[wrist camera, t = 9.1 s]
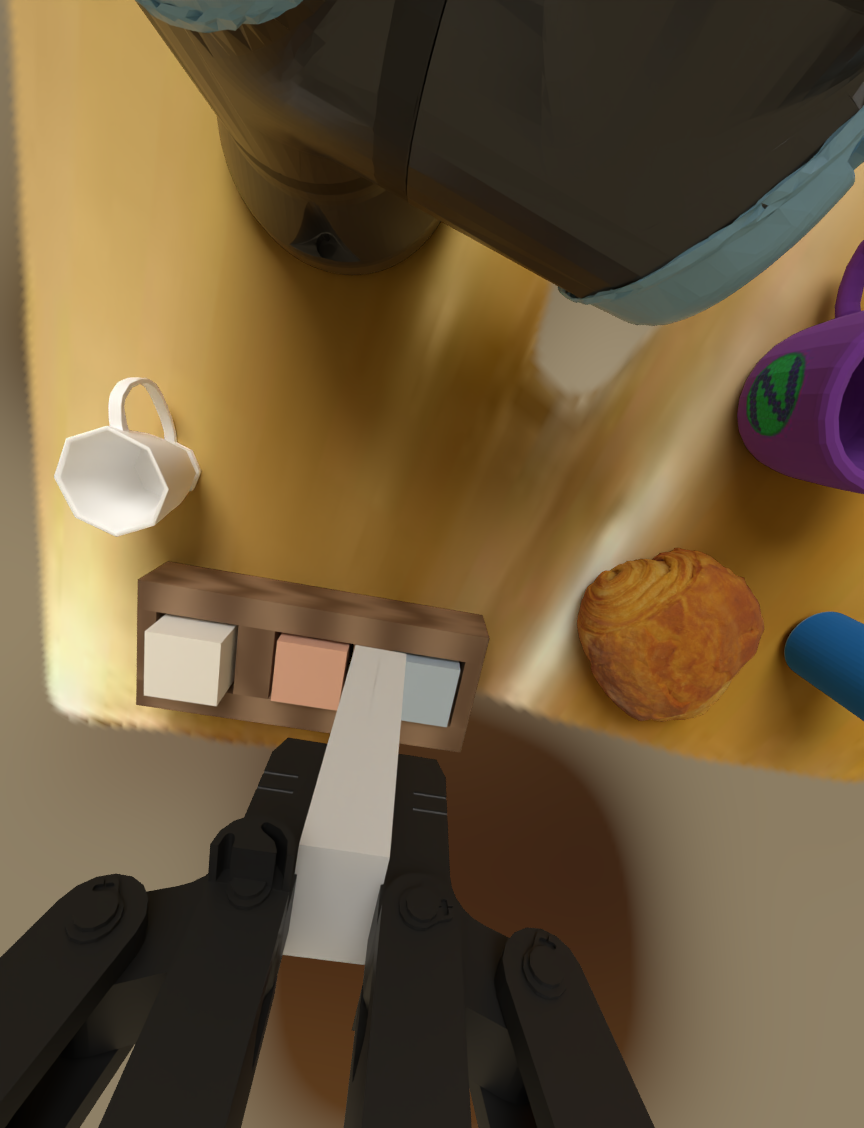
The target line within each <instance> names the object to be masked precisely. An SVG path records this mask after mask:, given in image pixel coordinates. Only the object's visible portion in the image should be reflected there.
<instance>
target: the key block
mask: <svg viewBox="0 0 864 1128" xmlns="http://www.w3.org/2000/svg"><path fill="white" fill-rule="evenodd" d="M165 614H172V615H178V616H185V617H191V618H197V619H203V620H209V621H215V622H222V623H228V624H234V625H239V627H238V639H237V652H236V664H235V677H234V682H233V683H232V685H231V686H230V687H229V689H228V690H227V692H226V693H225V695H224V696H223V698H222V699H221V701H220V702H219V704H218V705H217V706H211V705H205V704H198V703H191V702H185V701H178V700H171V699H164V698H158V697H151V696H144V647H145V631H146V630H147V629H148V628H149V627H151V626H152V625H153V624H154V623H156V622H157V621H158V620H159V619H160V618H162V617H163V616H164V615H165ZM282 632H283V633H289V634H295V635H301V636H308V637H314V638H320V639H326V640H332V641H338V642H344V643H351V644H354V649H355V646H356V645H359V646H365V647H370V648H376V649H382V650H388V651H389V650H394V651H400V652H406V653H412V654H418V655H424V656H431V657H437V658H443V659H449V660H455V661H459V664H460V674H459V678H458V683H457V687H456V691H455V695H454V699H453V703H452V708H451V712H450V716H449V720H448V724H447V727H441V726H435V725H428V724H421V723H415V722H408V721H401V727H400V739H399V744H406V745H414V746H420V747H426V748H434V749H440V750H447V751H454V752H461V748H462V744H463V740H464V736H465V733H466V728H467V725H468V721H469V716H470V713H471V709H472V705H473V701H474V697H475V693H476V689H477V685H478V681H479V677H480V673H481V670H482V666H483V662H484V658H485V654H486V650H487V646H488V642H489V635H488V632H487V629H486V625H485V622H484V619H483V615H478V614H472V613H466V612H461V611H455V610H449V609H443V608H437V607H431V606H426V605H420V604H414V603H408V602H402V601H396V600H390V599H385V598H379V597H373V596H367V595H361V594H355V593H349V592H344V591H338V590H332V589H326V588H320V587H314V586H309V585H303V584H297V583H291V582H285V581H279V580H273V579H268V578H262V577H256V576H250V575H244V574H238V573H233V572H227V571H221V570H215V569H209V568H203V567H197V566H192V565H186V564H180V563H174V562H166V563H164V564H163V565H161V566H159V567H158V568H156V569H154V570H153V571H151V572H149V573H148V574H146V575H145V576H143V577H141V578H140V579H138V606H137V696H136V705H141V706H148V707H155V708H162V709H169V710H175V711H182V712H189V713H196V714H202V715H209V716H216V717H223V718H230V719H236V720H243V721H250V722H257V723H264V724H270V725H277V726H284V727H291V728H298V729H304V730H311V731H318V732H325V733H331V730H332V727H333V723H334V720H335V716H336V713H337V711H335V710H329V709H322V708H315V707H309V706H302V705H296V704H289V703H282V702H276V701H271V694H272V684H273V675H274V666H275V656H276V647H277V640H278V639H279V637H280V635H281V634H282ZM354 649H353V653H354ZM352 656H353V655H352Z"/></svg>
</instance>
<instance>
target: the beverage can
mask: <svg viewBox="0 0 864 1128" xmlns="http://www.w3.org/2000/svg"><path fill="white" fill-rule="evenodd" d="M784 656H785V660H786V663H787V664H788V666H789V667H790V668H791V670H793V671H794V672H795V673H797V674H798V675H799V676H801V677H802V678H804V679H805V680H806V681H808V682H809V683H811V684H812V685H814V686H815V687H816V688H818V689H819V690H821V691H822V692H823V693H825V694H826V695H828V696H829V697H830V698H832V699H833V700H835V701H836V702H838V703H839V704H840V705H842V706H843V707H845V708H846V709H847V710H849V711H850V712H852V713H853V714H855V715H856V716H857V717H859V718H860V719H862V720H863V721H864V624H862V623H860V622H858V621H856V620H854V619H852V618H850V617H848V616H846V615H844V614H841V613H837V612H822V613H818V614H815V615H812V616H810V617H808V618H807V619H805V620H803V621H802V622H801V623H799V624H798V625H797V626H796V627H795V628H794V629H793V631H792V632H791V633H790V635H789V637H788V639H787V641H786V644H785V649H784Z"/></svg>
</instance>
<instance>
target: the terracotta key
mask: <svg viewBox="0 0 864 1128" xmlns="http://www.w3.org/2000/svg"><path fill="white" fill-rule="evenodd" d="M351 647H352V644H351V643H344V642H338V641H332V640H326V639H320V638H314V637H308V636H301V635H295V634H289V633H283V632H282V634H281V635H280V637H279V639H278V640H277V647H276V656H275V666H274V675H273V684H272V694H271V701H276V702H282V703H289V704H296V705H302V706H309V707H315V708H322V709H329V710H335V711H337V709H338V706H339V702H340V698H341V695H342V691H343V688H344V684H345V681H346V677H347V672H348V666H349V659H350V653H351Z"/></svg>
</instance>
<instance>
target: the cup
mask: <svg viewBox="0 0 864 1128" xmlns="http://www.w3.org/2000/svg"><path fill="white" fill-rule="evenodd" d="M139 384H141V385H143V386H144V387H145V388H146V390H147V391H148V393H149V395H150V396H151V398H152V400H153V403H154V405H155V407H156V410H157V412H158V414H159V417H160V419H161V423H162V426H163V430H164V438H165V440H164V439H162V438H159V437H157V436H154V435H152V434H149V433H144V432H138V431H132V430H128V425H127V421H126V415H125V409H124V404H125V399H126V397H127V395H128V394H129V392H130V390H131V389H132V387H135V386H137V385H139ZM109 423H110V426H104V427H101V428H98V429H95V430H91V431H88V432H85V433H82V434H78V435H75V436H72V437H69V438H66V441H65V444H64V447H63V450H62V453H61V456H60V460H59V463H58V466H57V469H56V472H55V475H54V478H55V480H56V482H57V484H58V486H59V488H60V490H61V491H62V493H63V495H64V497H65V499H66V501H67V503H68V505H69V507H70V509H71V511H72V512H73V514H74V516H75V518H77V519H80V520H82V521H84V522H86V523H88V524H90V525H92V526H94V527H96V528H99V529H101V530H103V531H105V532H107V533H109V534H111V535H113V536H115V537H117V536H121V535H124V534H128V533H131V532H134V531H138V530H141V529H145V528H148V527H151V526H154V525H156V524H157V523H158V522H159V521H161V520H162V519H163V518H164V517H165V516H166V515H167V514H168V513H170V512H171V511H172V510H173V509H175V508H176V507H177V506H178V505H180V504H181V502H182V501H183V500H184V498H185V497H186V495H187V494H188V492H189V491H192V490H194V488H195V486H196V484H197V481H198V479H199V476H200V474H201V469H200V467H199V464H198V462H197V460H196V457H195V455H194V453H193V450H191V449H189V448H187V447H185V446H183V445H181V444H179V443H178V442H177V438H176V430H175V426H174V423H173V419H172V416H171V413H170V411H169V408H168V406H167V403H166V401H165V398H164V396H163V394H162V392H161V391H160V389H159V387H158V386H157V384H156V383H154V382H153V381H151V380H150V379H147V378H139V377H132V378H126V379H124V380H122V381H119V382H117V384H116V385H115V387H114V389H113V390H112V392H111V393H110V399H109Z"/></svg>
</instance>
